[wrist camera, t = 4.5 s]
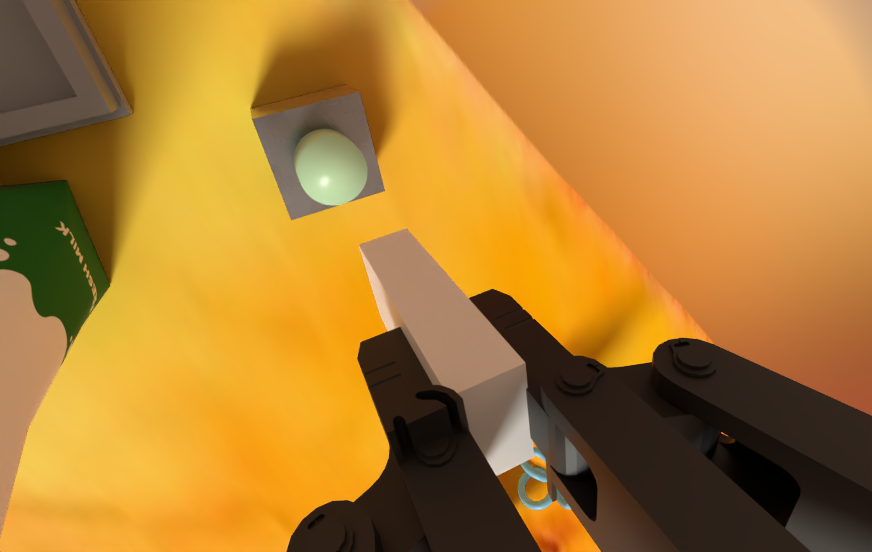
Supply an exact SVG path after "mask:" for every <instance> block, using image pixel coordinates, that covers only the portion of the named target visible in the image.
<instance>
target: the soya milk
mask: <svg viewBox="0 0 872 552" xmlns="http://www.w3.org/2000/svg"><path fill="white" fill-rule="evenodd" d="M109 287H110V284H109V281H108V279H107V276H106V274H105V272H104V269H103V267H102V264H101V262H100V260H99V257H98V255H97V252H96V250H95V248H94V245H93V243H92V240H91V238H90V236H89V233H88V231H87V229H86V226H85V224H84V221H83V219H82V217H81V214H80V212H79V209H78V207H77V205H76V202H75V200H74V197H73V195H72V193H71V190H70V188H69V185H68V183H67V181H66V180H61V181H51V182H40V183H30V184H19V185H9V186H0V537H1V533H2V529H3V525H4V521H5V517H6V513H7V509H8V505H9V501H10V497H11V493H12V489H13V486H14V482H15V478H16V474H17V470H18V466H19V462H20V458H21V455H22V451H23V447H24V443H25V439H26V436H27V432H28V428H29V426H30V424H31V422H32V420H33V418H34V416H35V414H36V412H37V410H38V408H39V407H40V405H41V403H42V401H43V399H44V397H45V395H46V393H47V391H48V389H49V388H50V386H51V384H52V382H53V380H54V378H55V376H56V374H57V372H58V370H59V369H60V367H61V365H62V363H63V361H64V359H65V357H66V355H67V353H68V351H69V350H70V348H71V346H72V344H73V342H74V340H75V338H76V336H77V334H78V333H79V331H80V329H81V327H82V325H83V324H84V322H85V321H86V319H87V318H88V316H89V315H90V314H91V312H92V311H93V309H94V308H95V306H96V305H97V304H98V302H99V301H100V299H101V298H102V296H103V295H104V294H105V292H106V291H107V289H108V288H109Z"/></svg>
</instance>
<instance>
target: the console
mask: <svg viewBox="0 0 872 552" xmlns="http://www.w3.org/2000/svg"><path fill="white" fill-rule="evenodd" d="M250 109H251V115H252V120H253V123H254V125H255V128H256V130H257V133H258V136H259V138H260V141H261V143H262V146H263V148H264V151H265V154H266V156H267V159H268V161H269V164H270V166H271V169H272V172H273V174H274V177H275V179H276V182H277V184H278V187H279V190H280V192H281V195H282V197H283V200H284V202H285V205H286V208H287V210H288V213H289V215H290V218H291V220H293V219H296V218H300V217H303V216H306V215H309V214H313V213H316V212H319V211H322V210H325V209H329V208H332V207H335V206H338V205H325V204H322V203H319V202H317V201H315V200H314V199H312V198H311V197H310V196H309V195H308V194H307V193H306V192H305V191H304V189H303V188H302V186H301V183H300V181H299V178H298V176H297V173H296V171H295V168H294V162H293V157H294V152H295V149H296V146H297V144H298V143H299V141H300V140H301V139H302V138H303V137H304V136H305V135H306V134H308V133H310V132H312V131H314V130H317V129H332V130H336V131H338V132H340V133H342V134H344V135H345V136H346V137H347V138H348V139H349V140H350V141H352V142H353V143H354V144H355V145H356V146H357V147H358V149H359V150H360V151H361V152H362V154H363V155H364V158H365V160H366V163H367V169H368V174H367V180H366V183H365V186H364V188H363V189H362V191H361V192H360V193H359V195H358V196H356V197H355V198H354V199H353V200H351V201H354V200H357V199H361V198H364V197H367V196H370V195H374V194H377V193H380V192H383V191H385V189H384V185H383V182H382V178H381V174H380V170H379V166H378V162H377V158H376V154H375V150H374V146H373V142H372V138H371V134H370V130H369V126H368V122H367V118H366V114H365V111H364V107H363V103H362V99H361V95H360V92H359V91H357V90H355V89H353V88H352V87H350V86H348V85H342V86H338V87H334V88H330V89H326V90H322V91H318V92H314V93H310V94H306V95H302V96H298V97H294V98H290V99H286V100H282V101H278V102H274V103H270V104H266V105H262V106H258V107H254V108H250ZM351 201H349V202H351ZM347 203H348V202H347Z"/></svg>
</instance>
